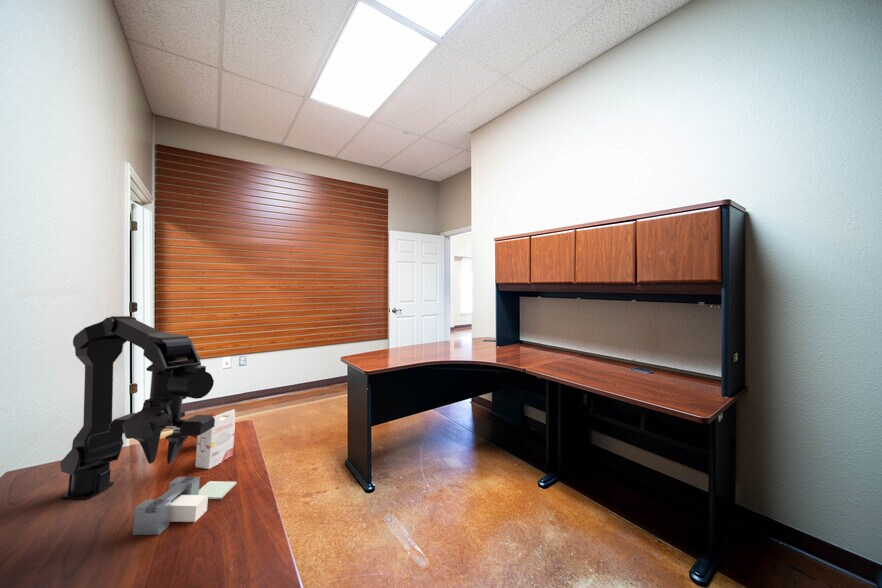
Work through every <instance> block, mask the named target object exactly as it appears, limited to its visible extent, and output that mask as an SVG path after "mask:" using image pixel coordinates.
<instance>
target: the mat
mask: <svg viewBox="0 0 882 588" xmlns="http://www.w3.org/2000/svg"><path fill="white" fill-rule="evenodd" d="M237 484H238V481H214V480H213V481H211V480H210V481H208V482H206V484H203V486H202V487H201V488H199V494H198V495H208V500H213V499H214V500H221V499H223V498H224V496H225V495H227V494H228V493H229V491H231V489H233V488H234V486H236V485H237Z"/></svg>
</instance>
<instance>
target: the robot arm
mask: <svg viewBox="0 0 882 588" xmlns="http://www.w3.org/2000/svg"><path fill="white" fill-rule="evenodd" d="M126 342H129V343H131V344H132V345H135V346H137V347H138V348H141V349H142V350H143V353H142V354H143V355H142V356H144V357H145V358H146V359H147V360H149V362H151V363H152V364H150V365H148V367H146V371H147V372H151V379H150V389H149V390H150V391H149V392H150V393H149V398H148V399H145V400H144V402H143V405H142V409H141V410H139V411H137V412H130V413H128V414H126V415H122V416H120V417H117V418H115V419H113V396H114V395H113V394H114V392H113V391H114V390H113V389H114V363H115V361H117V359H119V357H120V356H121V354H122V353H123V350H124V349H123V348H124V344H125V343H126ZM72 346H73V347H74V353H75V356H76V358H77V359H78V360H79V361H80V362H81V363H82V364H83V365H84V393H83V395H84V396H83V398H84V399H83V426H82V427H81V429H80V430H79V431H78V433H76V435H75V436H74V438H73V439H72V443H71V445H72V446H71V449H70V451H69V452H68V453H67V454H66V455H65V456H64V458H62V460H61V461H60V472H62V473H65V474H68V475H69V478H68V486H67V487H68V488H67V492H65V493H63V494H61V495H60V499H79V500H80V499H84V500H85V499H86V500H87V499H91V498H92V497H94V496H96V495H98V494H99V493H101V492H103V491H104V490H106V489H108V488H110V487H111V486H113V485H114V483H115V482H113V481H111V468H110V465H111V463H112V462H114V461H117V460H118V461H119V457H120V454H121V452H122V449H123V446H124V440H123V435H124V436H125V439H127V440H130V439H134V440H135V441H136V442H137V441H138V442H139V444H140V446H141V448H142V450H143V453H144V456H145V458H146V460H147V462H148V464H149V465H150V464H153V463H155V460H156V457H157V454H158V449H159V444H160V439H161V434H162V431H164V429H172V433H170V434H168V435H167V436H165V438H164V439H166V441H167V442H168V444H167V445H168V446H167V455H166V456H167V457H166V459H167V460H166V462H167V465H170V464H172V463H173V462H174V461H175V458H176V457H177V455H178V453H179V451H180V450H181V448H182V447H183V444H184V443H185V441H186V440H187V439H188V437H192V436H198V435H201V434H203V433H204V432H206V431H208V430H209V429H211V428H213V427H214V424H215V419H214V417H213V416H212V415H210V414H195V415H193V416H192V417H189V418H188V419H183V418H184V417H185V416H186V411H182V407H183V400H185V399H187V398H190V399H198V400H199V399H202V398H204V397H206V396H208V394H209V393H210V392H211V391H212V390H213V387H214V383H215V382H214V377H213V376H212V374H211V373H209V372H208V371H206V369H207V367H206V366H207V365H202V362H201V360H200V359H201V357H200V355H199V353H197V351H196V347H195V345H194V344H193V342H192V339H191V338H190V337H189V336H187V335H183V334H178V333H170V332H169V333H167V332H162V331H160V330H158V329H156V328H155V327H154V328H153V327H152V326H150V325H148V324H146V323H143V322H142V321H139V320H138V319H137V318H136V317H133V316H130V315H121V316H120V315H118V316H117V315H112V316H109V317H105V318H104V320H102V321H100V322H97V323H94V324H92V325H91V324H90V325H88V326H86V327H84V328H82V330H80V331H79V332H77V333H76V334H75V335H74V336H73V339H72Z"/></svg>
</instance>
